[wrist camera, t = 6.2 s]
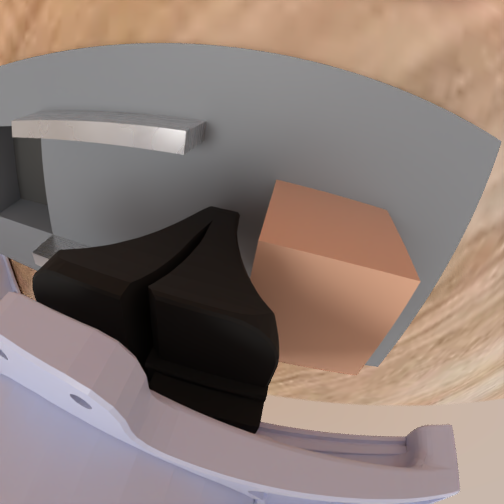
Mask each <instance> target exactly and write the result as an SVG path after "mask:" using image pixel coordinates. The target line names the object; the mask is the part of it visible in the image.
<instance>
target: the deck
mask: <svg viewBox="0 0 504 504" xmlns="http://www.w3.org/2000/svg"><path fill="white" fill-rule="evenodd" d="M57 110H79V111H110V112H127V113H140V114H151V115H161V116H170V117H178V118H186V119H194V120H201V121H206V126H205V133H204V141H203V142H202V143H200V144H199V145H197V146H196V147H194V148H193V149H191V150H190V151H189V152H187V153H186V154H184V155H181V154H175V153H169V152H163V151H156V150H149V149H142V148H135V147H128V146H120V145H111V144H102V143H93V142H83V141H71V140H58V139H43V138H21V137H12V120H15V119H18V118H21V117H24V116H26V115H29V114H32V113H35V112H38V111H57ZM501 142H502V141H500V140H498V139H497V138H495V137H494V136H492V135H490V134H489V133H487V132H485V131H484V130H482V129H480V128H479V127H477V126H475V125H473V124H472V123H470V122H468V121H466V120H464V119H463V118H461V117H459V116H457V115H455V114H453V113H451V112H449V111H447V110H445V109H443V108H441V107H439V106H437V105H435V104H433V103H431V102H429V101H426V100H424V99H422V98H420V97H417V96H415V95H413V94H410V93H408V92H405V91H403V90H401V89H398V88H396V87H393V86H390V85H388V84H385V83H382V82H380V81H377V80H374V79H371V78H368V77H365V76H362V75H359V74H356V73H353V72H349V71H346V70H343V69H339V68H336V67H332V66H329V65H325V64H321V63H317V62H313V61H309V60H304V59H300V58H295V57H291V56H286V55H281V54H275V53H269V52H264V51H257V50H250V49H243V48H235V47H226V46H216V45H203V44H183V43H139V44H120V45H107V46H97V47H88V48H81V49H74V50H68V51H62V52H56V53H51V54H46V55H41V56H37V57H32V58H28V59H24V60H20V61H16V62H13V63H9V64H6V65H2V66H0V254H2V255H4V256H6V257H8V258H10V259H13V260H15V261H17V262H19V263H21V264H23V265H26V266H28V267H30V268H32V269H34V270H37V271H38V270H39V269H40V268H41V266H39V265H36V264H35V261H34V258H33V254H32V252H33V251H34V250H36V249H37V248H38V247H39V246H40V245H41V244H42V243H43V242H45V241H46V240H47V239H48V238H49V237H50V236H52V235H53V234H54V235H57V236H60V237H63V238H66V239H69V240H72V241H76V242H79V243H82V244H85V245H88V246H92V247H97V246H104V245H110V244H115V243H119V242H123V241H127V240H131V239H135V238H139V237H142V236H145V235H148V234H151V233H154V232H156V231H159V230H161V229H164V228H166V227H168V226H170V225H173V224H175V223H177V222H179V221H181V220H183V219H185V218H187V217H189V216H191V215H193V214H195V213H197V212H199V211H201V210H203V209H205V208H207V207H209V206H213V207H217V208H222V209H226V210H231V211H235V212H238V213H239V215H240V218H239V224H238V230H237V238H238V245H239V250H240V254H241V258H242V261H243V264H244V267H245V269H246V271H247V274H248V276H249V278H250V276H251V272H252V267H253V263H254V258H255V254H256V249H257V245H258V240H259V237H260V234H261V230H262V227H263V223H264V220H265V217H266V213H267V210H268V207H269V203H270V200H271V196H272V193H273V190H274V186H275V183H276V180H281V181H285V182H289V183H293V184H297V185H301V186H305V187H309V188H312V189H316V190H320V191H324V192H327V193H331V194H334V195H338V196H342V197H345V198H349V199H352V200H355V201H359V202H362V203H365V204H369V205H372V206H375V207H378V208H382V209H385V210H387V211H388V213H389V215H390V217H391V219H392V221H393V223H394V225H395V227H396V229H397V231H398V233H399V235H400V237H401V239H402V241H403V243H404V245H405V247H406V249H407V252H408V254H409V256H410V258H411V260H412V263H413V265H414V267H415V270H416V272H417V274H418V277H419V279H420V281H421V282H420V283H419V285H418V287H417V288H416V290H415V292H414V293H413V295H412V297H411V298H410V300H409V301H408V303H407V305H406V306H405V308H404V309H403V311H402V313H401V314H400V316H399V317H398V319H397V320H396V322H395V323H394V325H393V326H392V328H391V329H390V331H389V332H388V333H387V335H386V336H385V338H384V339H383V341H382V342H381V343H380V345H379V346H378V348H377V349H376V350H375V352H374V353H373V354H372V356H371V357H370V358H369V360H368V361H367V362H366V364H365V365H369V366H376V367H378V366H379V365H380V363H381V362H382V361H383V360H384V358H385V357H386V356H387V354H388V353H389V352H390V351H391V349H392V348H393V347H394V345H395V344H396V343H397V341H398V340H399V339H400V337H401V336H402V334H403V333H404V332H405V330H406V329H407V327H408V326H409V325H410V323H411V322H412V320H413V319H414V317H415V316H416V314H417V313H418V311H419V310H420V308H421V307H422V305H423V304H424V302H425V301H426V299H427V298H428V296H429V295H430V293H431V291H432V290H433V288H434V287H435V285H436V283H437V282H438V280H439V278H440V277H441V275H442V273H443V271H444V270H445V268H446V266H447V264H448V263H449V261H450V259H451V257H452V255H453V254H454V252H455V250H456V248H457V246H458V244H459V242H460V240H461V238H462V236H463V234H464V232H465V230H466V228H467V226H468V224H469V222H470V220H471V218H472V216H473V214H474V212H475V209H476V207H477V205H478V203H479V200H480V198H481V196H482V193H483V191H484V188H485V186H486V183H487V181H488V178H489V176H490V173H491V171H492V168H493V165H494V162H495V160H496V157H497V154H498V151H499V148H500V145H501Z"/></svg>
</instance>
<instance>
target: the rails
mask: <svg viewBox="0 0 504 504" xmlns="http://www.w3.org/2000/svg"><path fill="white" fill-rule="evenodd" d="M205 126H206V121H201V120H194V119H186V118H178V117H170V116H161V115H151V114H140V113H127V112H110V111H79V110H57V111H38V112H35V113H32V114H29V115H26V116H24V117H21V118H18V119H15V120H12V137H21V138H43V139H58V140H71V141H83V142H93V143H102V144H111V145H120V146H128V147H135V148H142V149H149V150H156V151H163V152H169V153H175V154H181V155H184V154H186V153H187V152H189V151H190V150H191V149H193V148H194V147H196V146H197V145H199V144H200V143H202V142H203V141H204V133H205ZM90 247H92V246H88V245H85V244H82V243H79V242H76V241H72V240H69V239H66V238H63V237H60V236H57V235H54V234H53V235H52V236H50V237H49V238H48V239H47V240H46V241H45V242H43V243H42V244H41V245H40V246H39V247H38V248H37V249H36V250H34V251H33V252H32V254H33V258H34V261H35V264H36V265H39V266H41V267H42V266H43V265H44V264H45V263H46V262H47V261H48V260H49V259H50V258H51V257H52V256H53V255H54V254H55V253H56V252H57V251H58V250H64V249H79V248H90Z"/></svg>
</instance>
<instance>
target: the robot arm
mask: <svg viewBox="0 0 504 504" xmlns="http://www.w3.org/2000/svg"><path fill="white" fill-rule="evenodd" d="M239 218H240V215H239V213H238V212H235V211H231V210H226V209H222V208H217V207H213V206H209V207H207V208H205V209H203V210H201V211H199V212H197V213H195V214H193V215H191V216H189V217H187V218H185V219H183V220H181V221H179V222H177V223H175V224H173V225H170V226H168V227H166V228H164V229H161V230H159V231H156V232H154V233H151V234H148V235H145V236H142V237H139V238H135V239H131V240H127V241H123V242H119V243H115V244H110V245H104V246H97V247H90V248H79V249H64V250H58V251H57V252H56V253H55V254H54V255H53V256H52V257H51V258H50V259H49V260H48V261H47V262H46V263H45V264H44V265H43V266H42V267H41V268H40V269H39V270H38V271H37V272H36V273H35V274H34V277H33V291H34V295H35V298H36V301H35V300H33V299H31V298H29V297H27V296H25V295H23V294H21V292H20V290H19V287H18V285H17V282H16V279H15V277H14V274H13V271H12V268H11V265H10V262H9V259H8V257H6V256H4V255H2V254H0V504H432V503H435V502H438V501H440V500H443V499H446V498H448V497H451V496H453V495H456V494H458V493H459V491H460V485H459V474H458V464H457V455H456V448H455V441H454V435H453V429H452V425H450V424H446V425H425V426H421V427H418V428H416V429H414V430H413V431H412V432H410V433H409V434H408V435H407V436H406V437H392V436H390V437H389V436H365V435H349V434H339V433H328V432H320V431H312V430H304V429H298V428H291V427H285V426H279V425H274V424H269V423H263V422H260V420H261V416H262V409H263V404H264V401H265V400H266V396H267V391H268V385H269V383H270V381H271V379H272V377H273V375H274V372H275V370H276V368H277V365H278V361H279V336H278V330H277V324H276V319H275V314H274V313H273V311H272V310H271V309H270V308H269V307H268V306H267V304H266V303H265V302H264V301H263V300H262V298H261V297H260V295H259V294H258V292H257V291H256V289H255V287H254V285H253V284H252V282H251V280H250V278H249V276H248V274H247V271H246V269H245V267H244V264H243V261H242V258H241V254H240V250H239V245H238V238H237V230H238V224H239Z"/></svg>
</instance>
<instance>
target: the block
mask: <svg viewBox="0 0 504 504" xmlns="http://www.w3.org/2000/svg"><path fill="white" fill-rule="evenodd" d="M250 280H251V282H252V284H253V285H254V287H255V289H256V291H257V292H258V294H259V295H260V297H261V298H262V300H263V301H264V302H265V303H266V304H267V306H268V307H269V308H270V309H271V310H272V311H273V313H274V314H275V319H276V324H277V330H278V336H279V362H284V363H288V364H293V365H298V366H303V367H309V368H314V369H319V370H325V371H331V372H337V373H343V374H350V375H357V374H358V373H359V371H360V370H361V369H362V368H363V366H364V365H365V364H366V362H367V361H368V360H369V358H370V357H371V356H372V354H373V353H374V352H375V350H376V349H377V348H378V346H379V345H380V343H381V342H382V341H383V339H384V338H385V336H386V335H387V333H388V332H389V331H390V329H391V328H392V326H393V325H394V323H395V322H396V320H397V319H398V317H399V316H400V314H401V313H402V311H403V309H404V308H405V306H406V305H407V303H408V301H409V300H410V298H411V297H412V295H413V293H414V292H415V290H416V288H417V287H418V285H419V283H420V282H421V281H420V279H419V277H418V274H417V272H416V270H415V267H414V265H413V263H412V260H411V258H410V256H409V254H408V252H407V249H406V247H405V245H404V243H403V241H402V239H401V237H400V235H399V233H398V231H397V229H396V227H395V225H394V223H393V221H392V219H391V217H390V215H389V213H388V211H387V210H385V209H382V208H378V207H375V206H372V205H369V204H365V203H362V202H359V201H355V200H352V199H349V198H345V197H342V196H338V195H334V194H331V193H327V192H324V191H320V190H316V189H312V188H309V187H305V186H301V185H297V184H293V183H289V182H285V181H281V180H276V183H275V186H274V190H273V193H272V196H271V200H270V203H269V207H268V210H267V213H266V217H265V220H264V223H263V227H262V230H261V234H260V237H259V240H258V245H257V249H256V254H255V258H254V263H253V267H252V272H251V276H250Z"/></svg>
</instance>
